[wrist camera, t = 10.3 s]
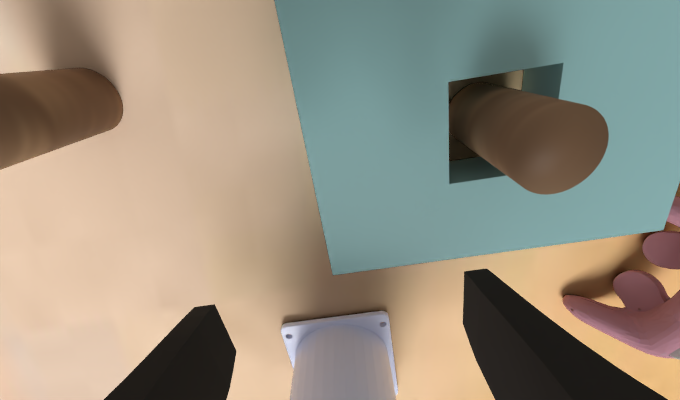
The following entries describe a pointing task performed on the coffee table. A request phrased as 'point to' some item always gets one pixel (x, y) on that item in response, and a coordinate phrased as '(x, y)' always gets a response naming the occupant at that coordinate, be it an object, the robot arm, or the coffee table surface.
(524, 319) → the robot arm
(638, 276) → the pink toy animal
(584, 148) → the short pin
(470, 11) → the block
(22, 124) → the tall pin
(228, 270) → the coffee table surface
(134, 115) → the coffee table surface
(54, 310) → the coffee table surface
